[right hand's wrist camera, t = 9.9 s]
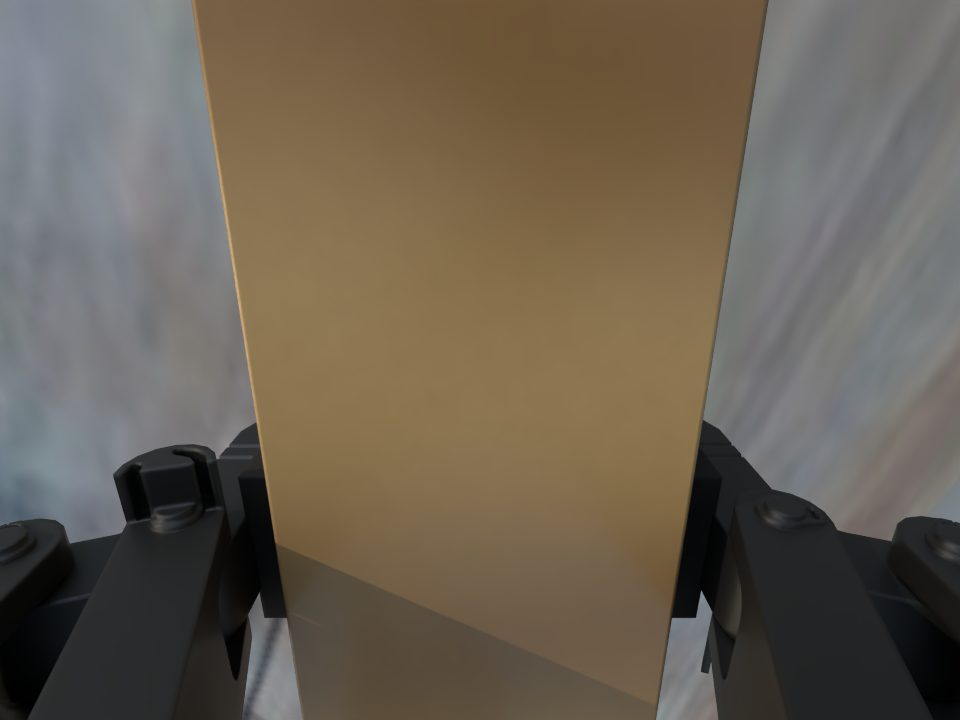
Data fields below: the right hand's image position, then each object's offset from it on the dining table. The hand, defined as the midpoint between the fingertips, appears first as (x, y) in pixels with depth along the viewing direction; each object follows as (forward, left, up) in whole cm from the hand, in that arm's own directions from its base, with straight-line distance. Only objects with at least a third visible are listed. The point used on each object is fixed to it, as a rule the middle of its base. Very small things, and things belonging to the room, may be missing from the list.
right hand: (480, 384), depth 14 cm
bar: (+2, +18, 0) cm, 18 cm away
